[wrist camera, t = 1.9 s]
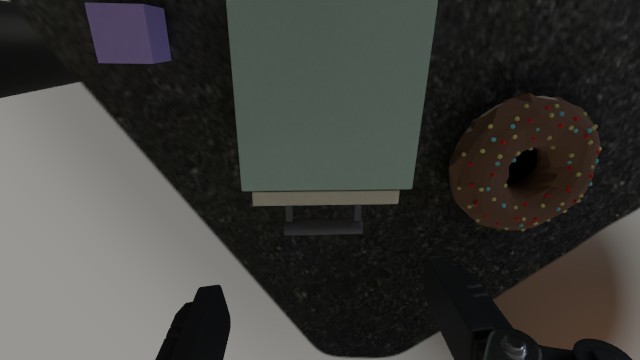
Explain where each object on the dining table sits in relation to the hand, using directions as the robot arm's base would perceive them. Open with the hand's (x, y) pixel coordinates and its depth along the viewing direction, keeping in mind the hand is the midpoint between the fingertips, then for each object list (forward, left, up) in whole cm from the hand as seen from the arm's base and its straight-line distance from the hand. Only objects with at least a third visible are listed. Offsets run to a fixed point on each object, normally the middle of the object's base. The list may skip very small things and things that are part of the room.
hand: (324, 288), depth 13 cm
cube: (-14, +9, -21) cm, 27 cm away
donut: (+20, -2, -21) cm, 29 cm away
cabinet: (+1, +6, -21) cm, 22 cm away
